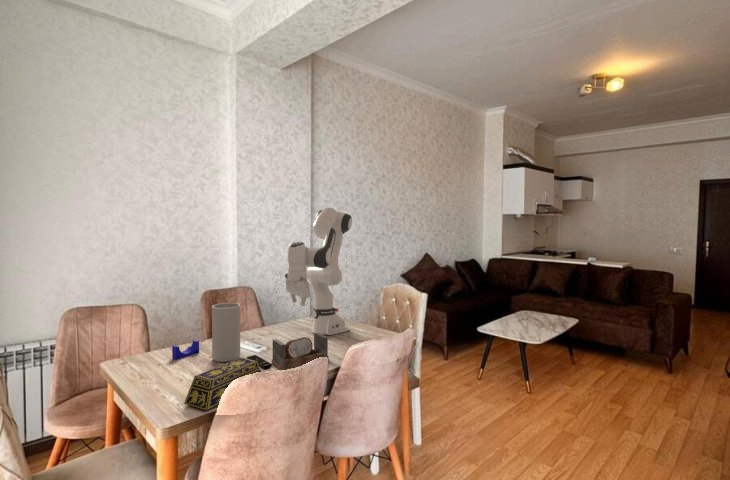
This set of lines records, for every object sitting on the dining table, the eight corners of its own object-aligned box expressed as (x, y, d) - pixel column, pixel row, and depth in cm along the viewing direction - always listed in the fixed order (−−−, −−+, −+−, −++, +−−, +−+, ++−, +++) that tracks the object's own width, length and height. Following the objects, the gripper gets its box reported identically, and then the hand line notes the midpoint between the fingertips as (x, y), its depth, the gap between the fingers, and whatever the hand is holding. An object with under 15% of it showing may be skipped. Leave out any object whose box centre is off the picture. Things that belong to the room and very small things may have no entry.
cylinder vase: (231, 363, 177) (231, 308, 176) (206, 361, 179) (206, 307, 178) (245, 354, 189) (245, 303, 188) (221, 352, 191) (221, 302, 190)
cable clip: (193, 351, 194) (193, 339, 193) (199, 353, 191) (199, 340, 191) (170, 358, 184) (170, 345, 183) (176, 359, 181) (175, 347, 181)
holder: (318, 354, 190) (318, 332, 190) (328, 360, 182) (328, 337, 182) (271, 363, 177) (271, 339, 176) (279, 370, 168) (280, 345, 168)
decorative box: (183, 404, 137) (183, 378, 137) (245, 375, 164) (245, 354, 163) (205, 410, 132) (205, 384, 132) (265, 380, 159) (265, 358, 158)
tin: (310, 353, 186) (307, 335, 187) (315, 352, 184) (311, 334, 185) (285, 361, 174) (282, 342, 175) (290, 360, 172) (286, 341, 174)
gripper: (313, 277, 181) (314, 307, 182) (294, 272, 198) (295, 299, 199) (300, 279, 178) (301, 309, 179) (283, 274, 195) (284, 301, 195)
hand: (298, 304), depth 189 cm, fingers open, 8 cm apart
